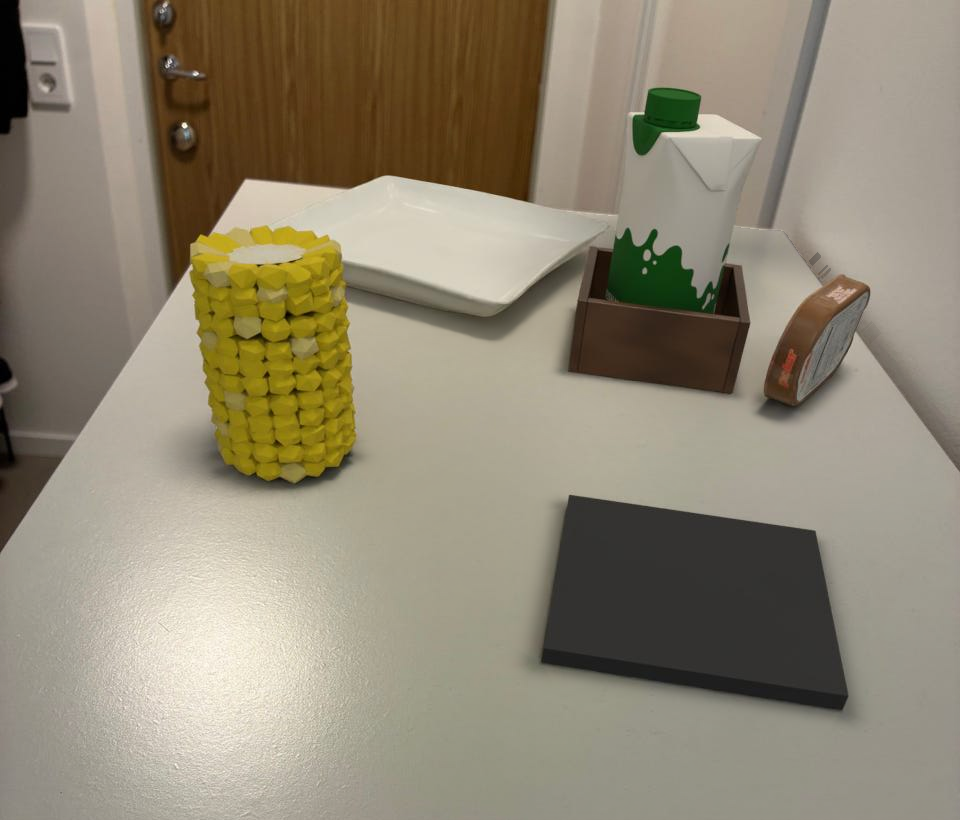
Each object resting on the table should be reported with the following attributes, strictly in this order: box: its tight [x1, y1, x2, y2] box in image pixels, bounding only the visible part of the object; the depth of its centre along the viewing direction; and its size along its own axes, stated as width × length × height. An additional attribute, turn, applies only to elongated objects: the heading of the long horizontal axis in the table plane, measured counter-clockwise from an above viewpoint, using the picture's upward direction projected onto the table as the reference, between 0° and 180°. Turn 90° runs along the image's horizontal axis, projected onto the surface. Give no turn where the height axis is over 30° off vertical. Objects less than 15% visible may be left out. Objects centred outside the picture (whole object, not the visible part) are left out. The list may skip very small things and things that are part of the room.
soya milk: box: [605, 87, 763, 314], centre depth 80 cm, size 9×9×20 cm
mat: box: [541, 494, 849, 710], centre depth 58 cm, size 16×16×1 cm
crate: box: [567, 245, 751, 394], centre depth 84 cm, size 14×14×6 cm
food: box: [188, 224, 357, 485], centre depth 63 cm, size 15×12×10 cm
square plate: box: [267, 175, 611, 318], centre depth 97 cm, size 27×27×4 cm
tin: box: [763, 273, 871, 407], centre depth 80 cm, size 15×3×8 cm, turn 145°
